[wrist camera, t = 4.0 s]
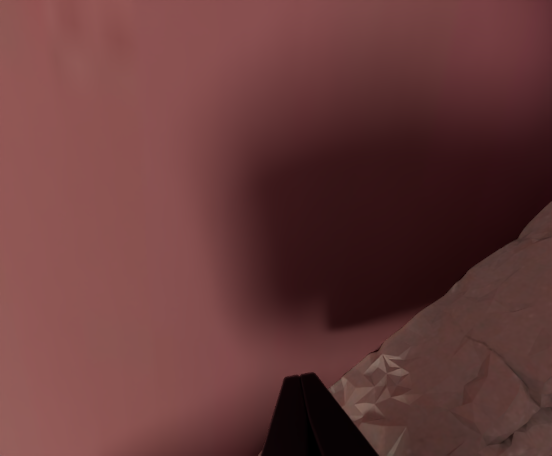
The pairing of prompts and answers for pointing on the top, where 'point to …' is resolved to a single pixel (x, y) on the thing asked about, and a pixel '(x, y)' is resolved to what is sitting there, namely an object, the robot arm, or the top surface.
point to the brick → (467, 364)
